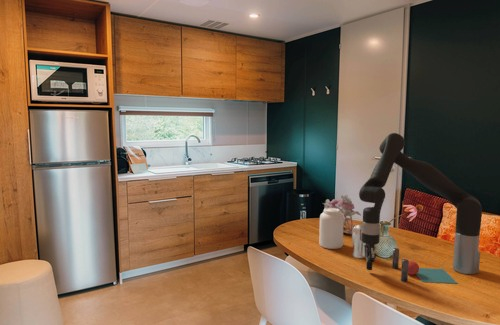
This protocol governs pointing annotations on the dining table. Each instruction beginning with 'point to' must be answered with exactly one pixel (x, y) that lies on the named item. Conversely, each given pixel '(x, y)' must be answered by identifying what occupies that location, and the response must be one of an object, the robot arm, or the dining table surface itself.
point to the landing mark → (435, 276)
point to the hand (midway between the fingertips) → (369, 269)
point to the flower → (343, 209)
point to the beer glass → (357, 242)
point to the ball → (413, 268)
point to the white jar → (331, 229)
